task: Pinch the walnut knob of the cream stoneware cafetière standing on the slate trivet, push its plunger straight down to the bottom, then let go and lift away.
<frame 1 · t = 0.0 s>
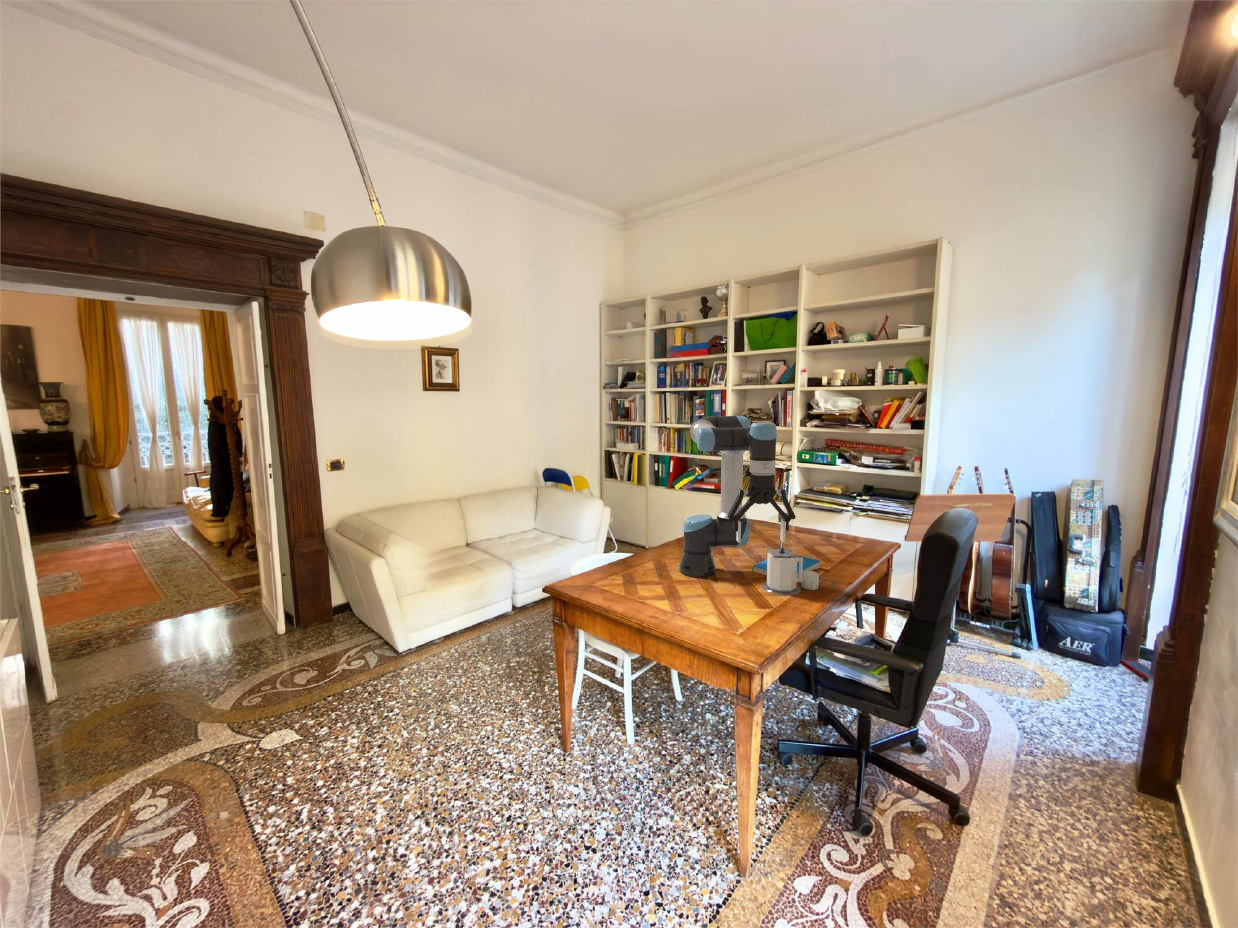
hand: (760, 541, 149), 28 cm above the table, fingers open, 13 cm apart
espresso cup: (809, 588, 182), on the table
trivet: (781, 589, 181), on the table
book: (786, 572, 201), on the table
plunger: (782, 534, 178), point 22 cm above the table, slide at 0.0 cm
cafetiere: (781, 587, 181), resting on trivet
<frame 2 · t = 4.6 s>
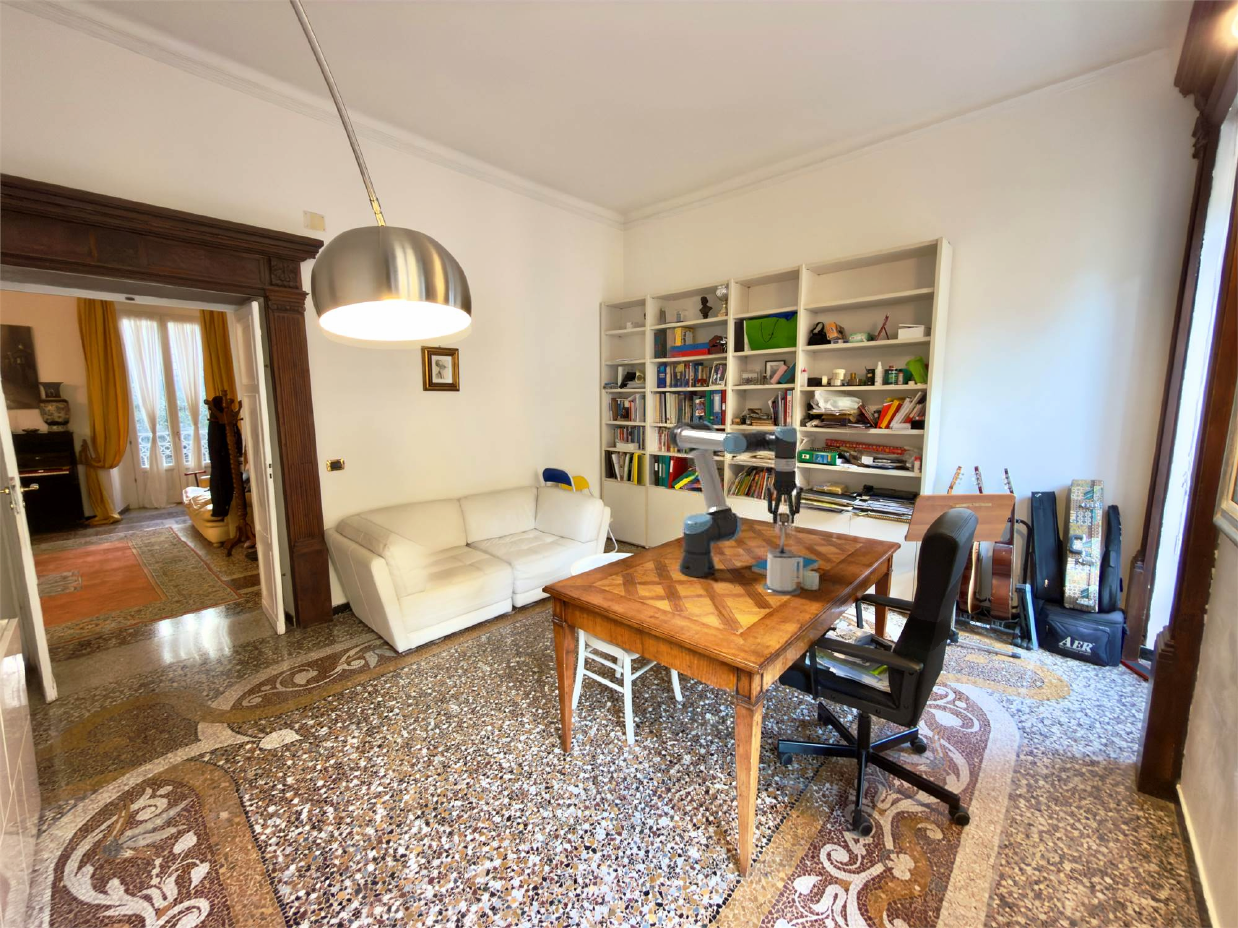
hand: (782, 531, 178), 22 cm above the table, fingers closed on plunger, 4 cm apart
plunger: (782, 534, 178), point 21 cm above the table, slide at 0.0 cm, touching gripper
everything else where it was.
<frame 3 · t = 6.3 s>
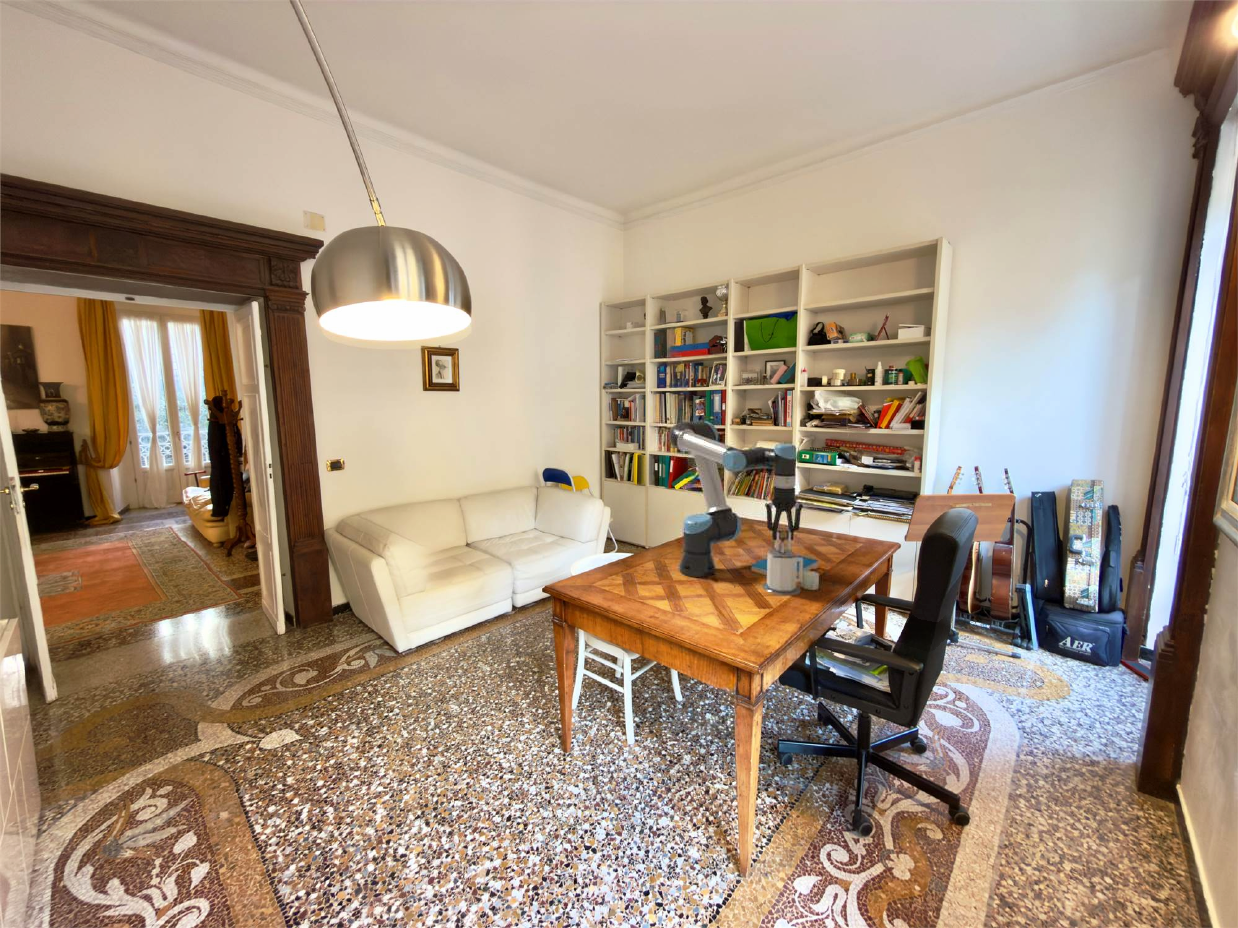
hand: (782, 548, 179), 16 cm above the table, fingers closed on plunger, 4 cm apart
plunger: (782, 550, 179), point 15 cm above the table, slide at 6.3 cm, touching gripper
everything else where it was.
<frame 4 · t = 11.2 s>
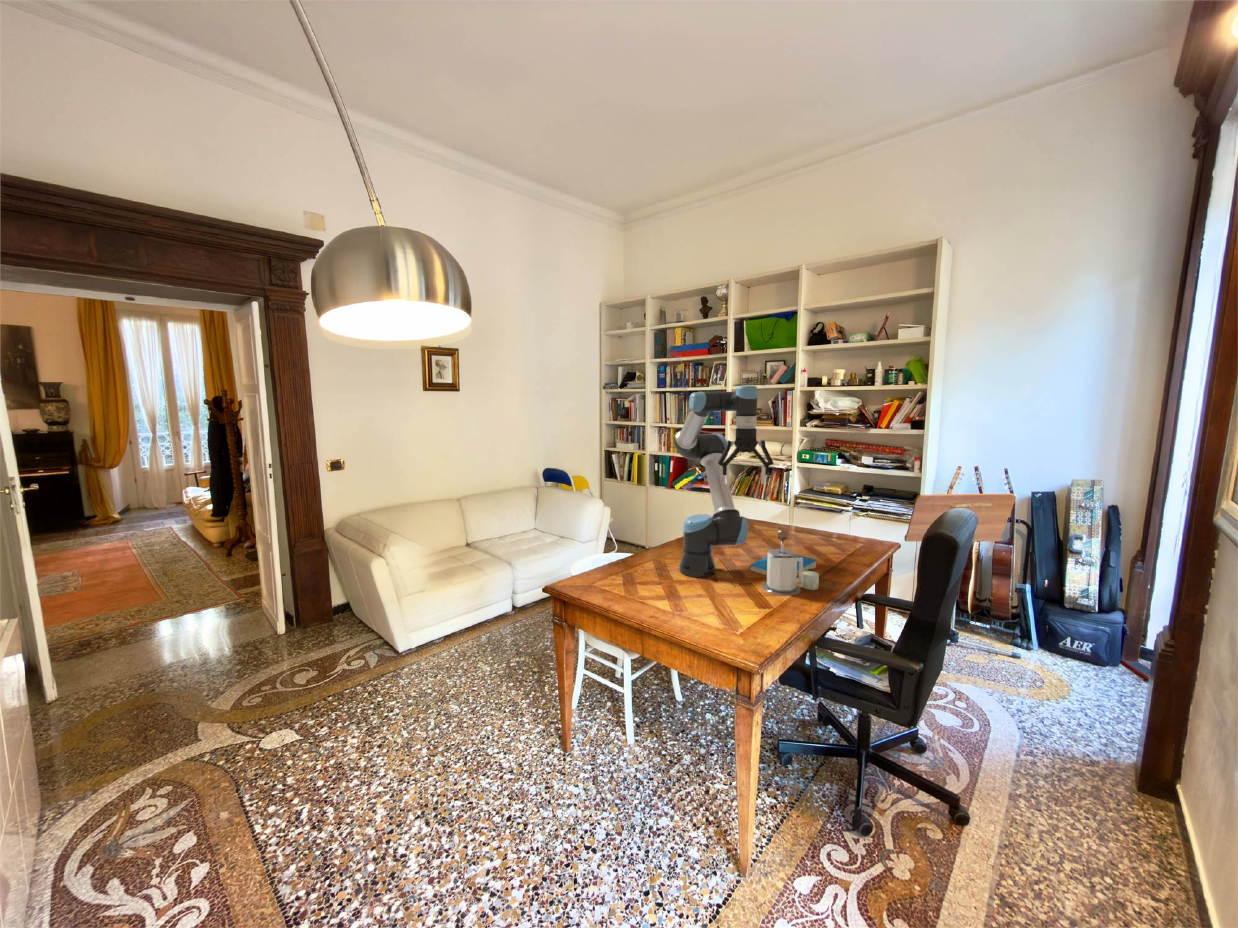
hand: (744, 483, 182), 40 cm above the table, fingers open, 13 cm apart
plunger: (782, 550, 179), point 15 cm above the table, slide at 6.3 cm
at the end: plunger slide at 6.3 cm; the gripper is holding nothing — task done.
